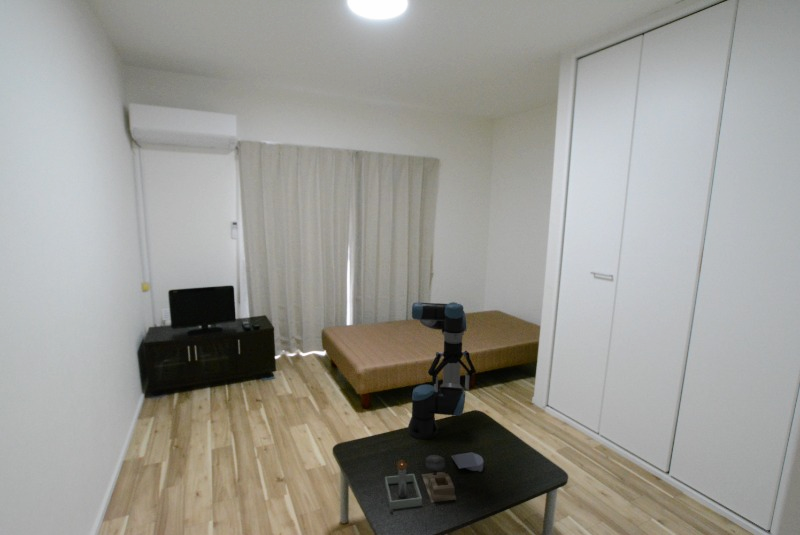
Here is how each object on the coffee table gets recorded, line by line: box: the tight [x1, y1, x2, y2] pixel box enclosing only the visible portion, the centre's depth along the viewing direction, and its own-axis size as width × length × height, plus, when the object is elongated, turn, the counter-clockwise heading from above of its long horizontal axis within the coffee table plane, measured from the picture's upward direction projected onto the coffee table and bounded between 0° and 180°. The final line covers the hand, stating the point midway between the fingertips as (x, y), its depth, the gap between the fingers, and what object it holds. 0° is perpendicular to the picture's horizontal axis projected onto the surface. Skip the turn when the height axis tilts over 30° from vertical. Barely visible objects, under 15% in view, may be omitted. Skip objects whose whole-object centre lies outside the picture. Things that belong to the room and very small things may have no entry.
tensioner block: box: [421, 454, 457, 503], centre depth 149 cm, size 17×10×9 cm, turn 10°
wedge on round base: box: [451, 452, 484, 473], centre depth 163 cm, size 9×7×13 cm
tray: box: [384, 473, 423, 513], centre depth 144 cm, size 14×12×4 cm
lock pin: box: [396, 459, 408, 498], centre depth 144 cm, size 4×4×13 cm
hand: (451, 389), depth 156 cm, fingers open, 13 cm apart
